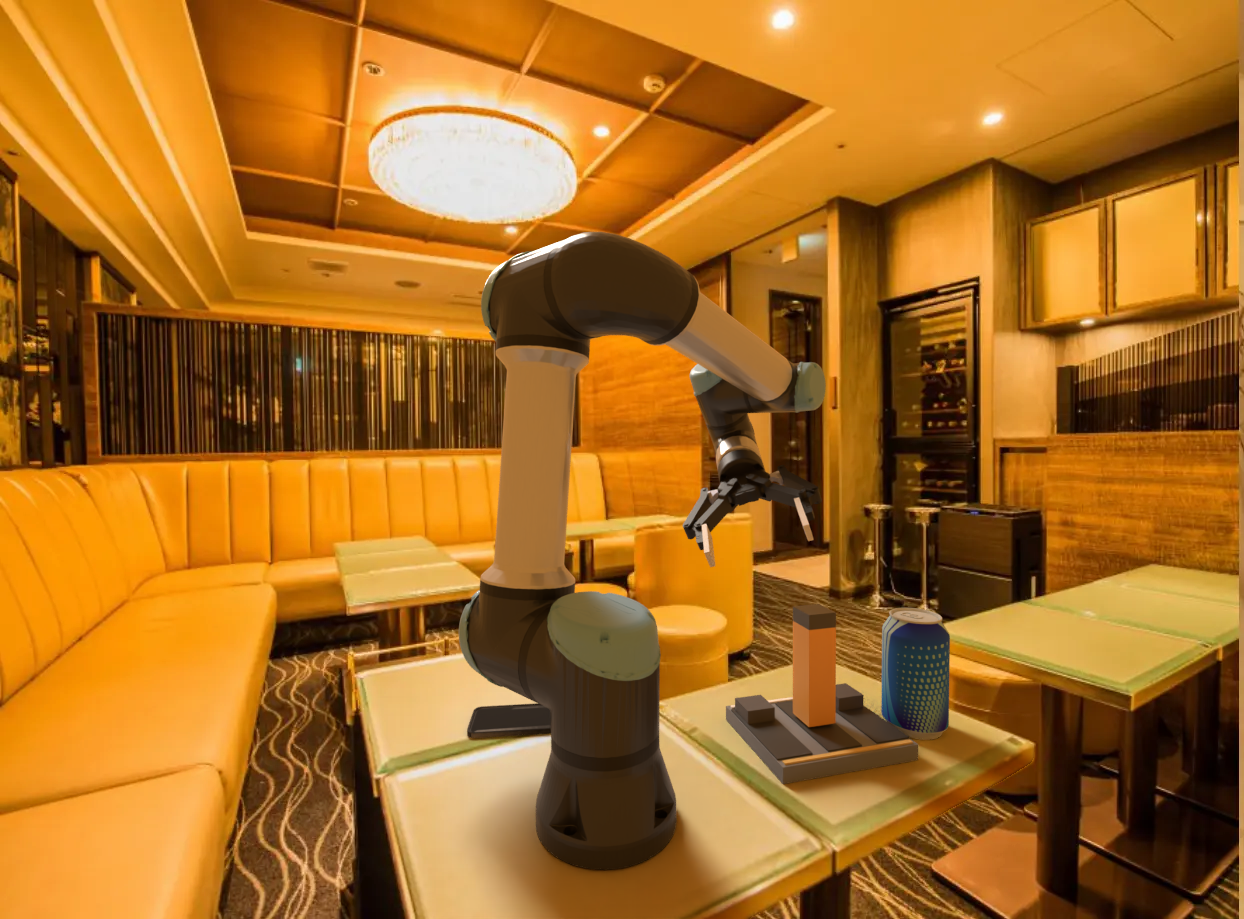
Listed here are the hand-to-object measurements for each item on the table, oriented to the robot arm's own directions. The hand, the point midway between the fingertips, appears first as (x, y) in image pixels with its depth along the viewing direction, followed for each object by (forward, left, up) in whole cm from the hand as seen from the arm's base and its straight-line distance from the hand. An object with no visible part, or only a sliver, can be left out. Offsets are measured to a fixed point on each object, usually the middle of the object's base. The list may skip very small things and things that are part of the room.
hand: (758, 546), depth 78 cm
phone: (-31, +13, -27) cm, 43 cm away
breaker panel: (+7, -3, -26) cm, 27 cm away
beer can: (+22, -4, -26) cm, 35 cm away
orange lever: (+7, -2, -24) cm, 25 cm away
